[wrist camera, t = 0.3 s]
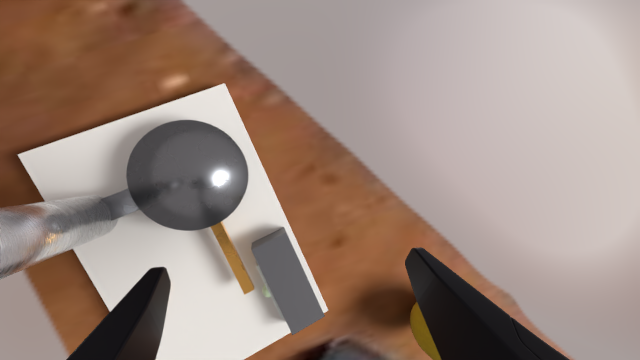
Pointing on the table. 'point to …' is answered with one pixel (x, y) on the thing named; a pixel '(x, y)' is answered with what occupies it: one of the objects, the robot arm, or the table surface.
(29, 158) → the stand
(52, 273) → the table surface
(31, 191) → the table surface
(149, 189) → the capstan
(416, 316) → the lemon
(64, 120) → the table surface
